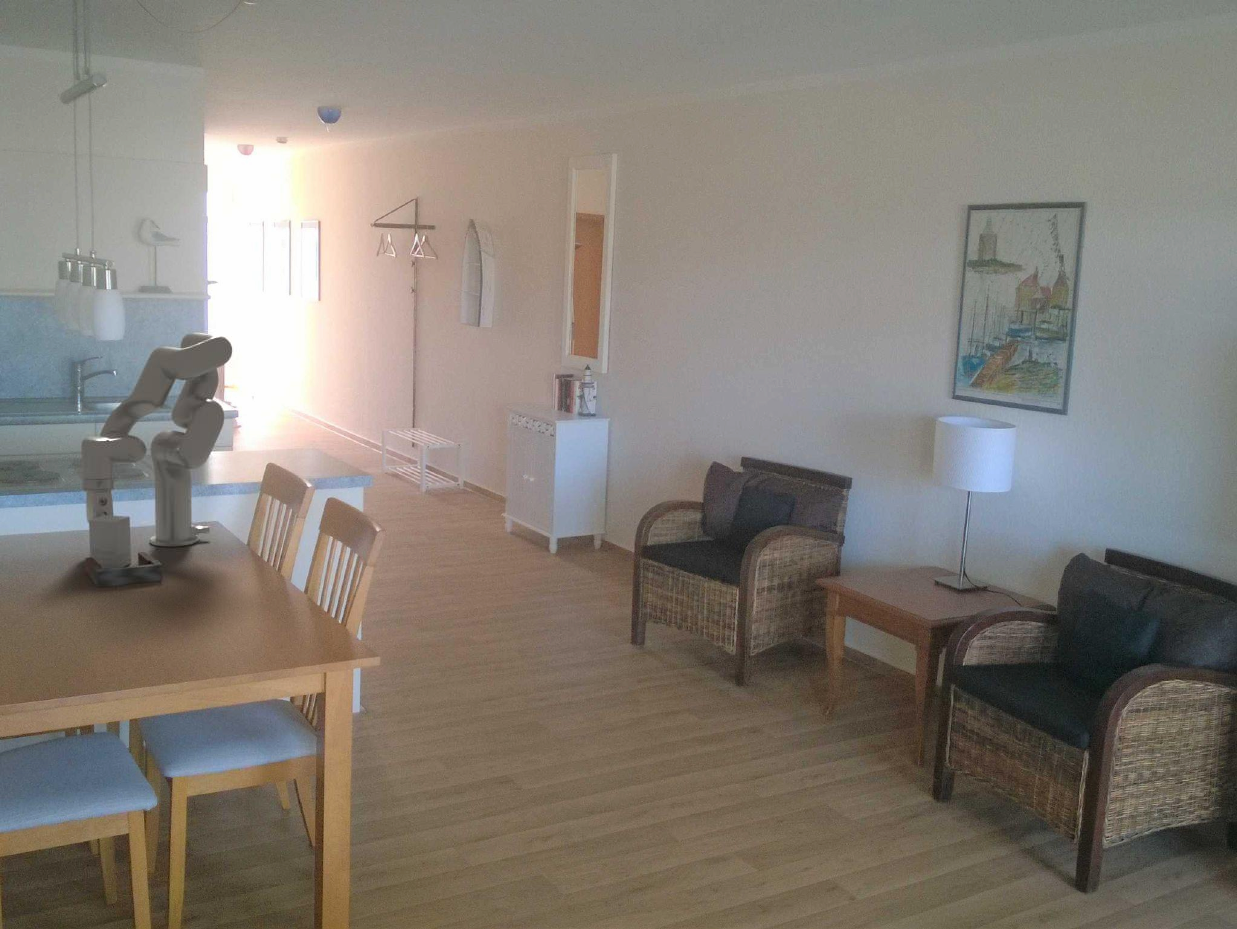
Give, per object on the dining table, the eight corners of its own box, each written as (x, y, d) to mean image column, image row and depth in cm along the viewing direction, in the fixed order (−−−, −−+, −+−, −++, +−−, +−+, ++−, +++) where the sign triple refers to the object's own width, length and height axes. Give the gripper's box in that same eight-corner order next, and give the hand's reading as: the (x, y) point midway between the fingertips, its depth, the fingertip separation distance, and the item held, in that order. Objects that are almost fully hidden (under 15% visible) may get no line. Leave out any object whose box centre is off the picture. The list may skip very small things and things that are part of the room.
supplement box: (132, 563, 294) (131, 516, 292) (116, 570, 287) (115, 522, 285) (105, 561, 295) (104, 513, 293) (89, 568, 288) (88, 520, 285)
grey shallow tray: (146, 566, 292) (146, 551, 291) (162, 580, 281) (162, 564, 280) (84, 573, 283) (83, 558, 282) (98, 587, 272) (97, 571, 271)
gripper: (120, 488, 293) (121, 556, 296) (106, 477, 305) (107, 543, 308) (89, 490, 288) (91, 559, 291) (76, 479, 300) (77, 546, 303)
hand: (99, 551), depth 300 cm, fingers closed
